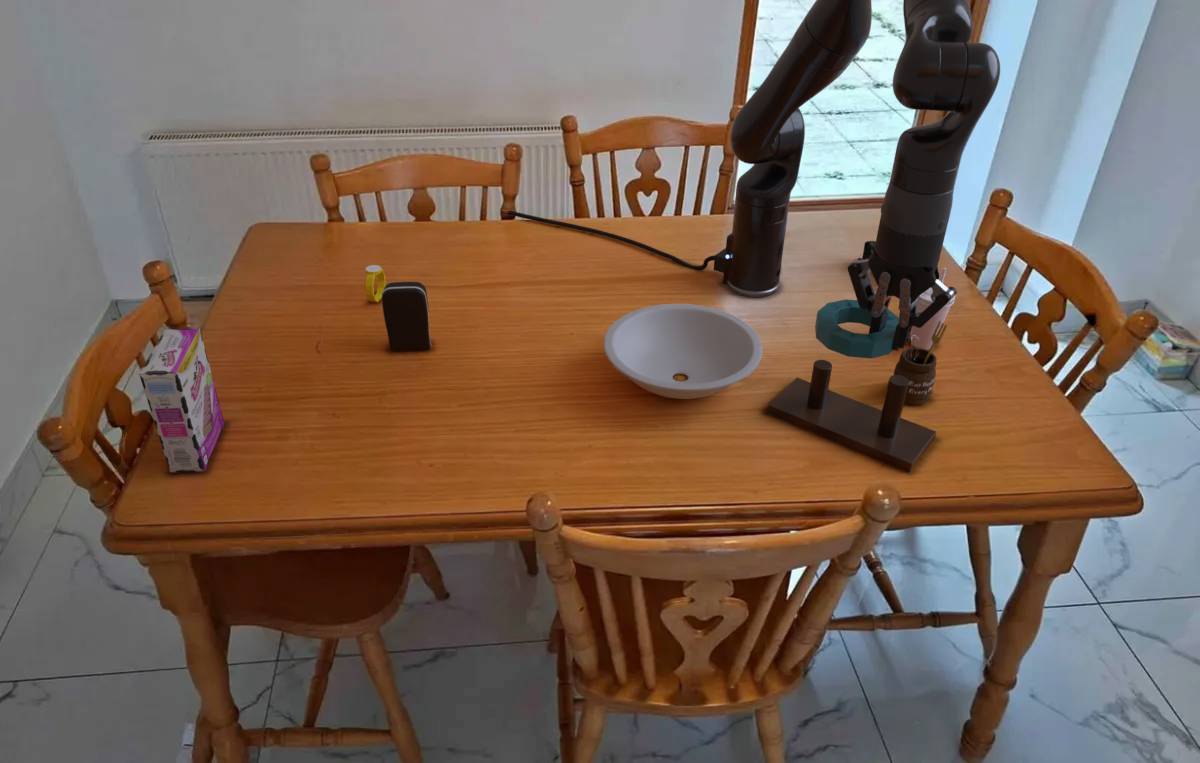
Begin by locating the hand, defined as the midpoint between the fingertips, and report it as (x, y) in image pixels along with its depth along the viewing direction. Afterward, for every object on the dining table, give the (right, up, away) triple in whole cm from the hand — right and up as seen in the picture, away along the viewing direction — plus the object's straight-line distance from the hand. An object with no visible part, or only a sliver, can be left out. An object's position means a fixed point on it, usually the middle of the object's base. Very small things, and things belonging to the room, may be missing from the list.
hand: (886, 343), depth 118 cm
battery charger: (-67, +1, +34) cm, 75 cm away
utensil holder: (+11, -7, +24) cm, 27 cm away
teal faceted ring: (-3, +1, +2) cm, 4 cm away
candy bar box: (-92, -14, +12) cm, 94 cm away
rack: (0, -11, +17) cm, 20 cm away
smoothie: (+17, +1, +35) cm, 39 cm away
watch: (-76, +10, +46) cm, 89 cm away
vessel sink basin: (-24, -5, +27) cm, 36 cm away
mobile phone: (+17, +14, +54) cm, 58 cm away
